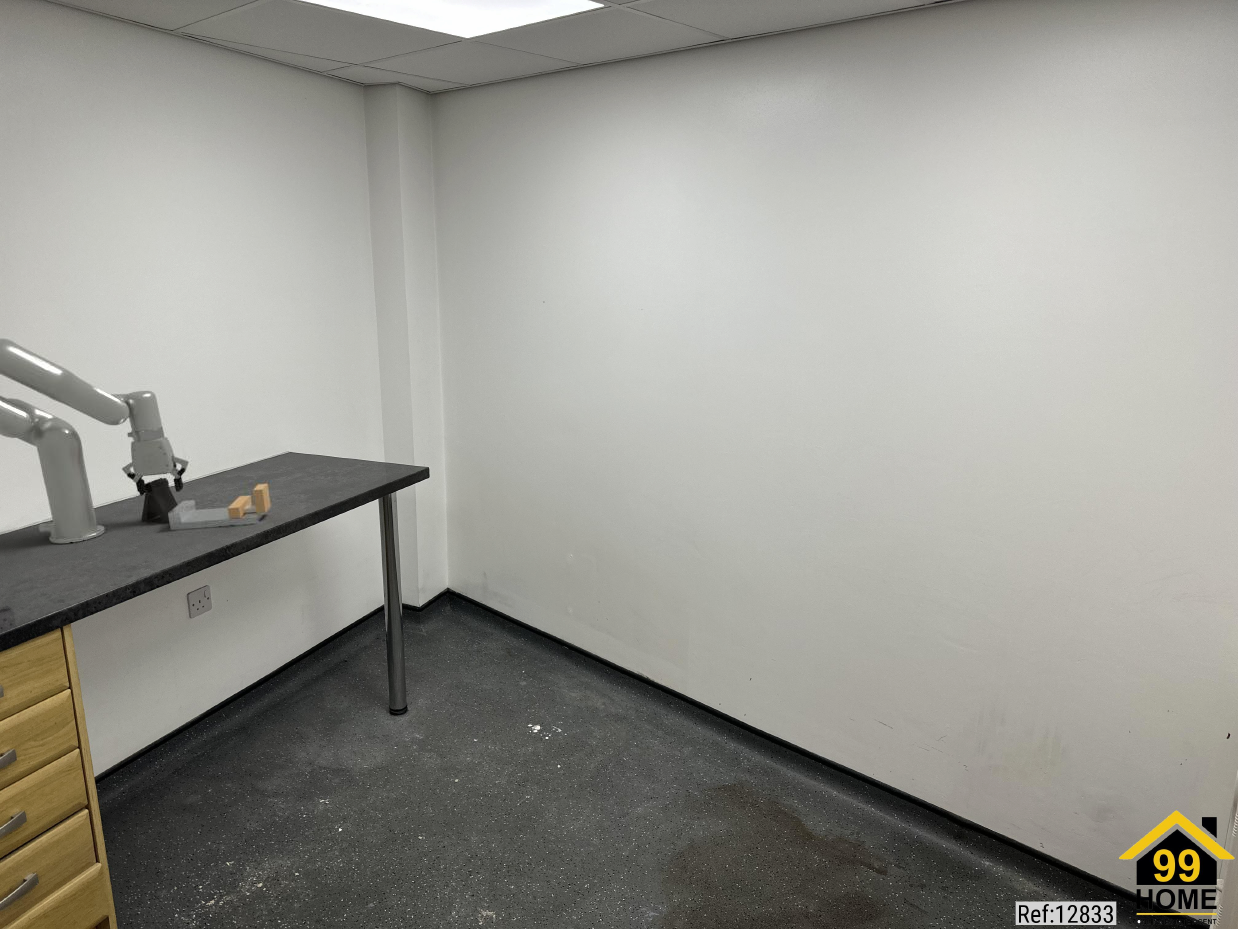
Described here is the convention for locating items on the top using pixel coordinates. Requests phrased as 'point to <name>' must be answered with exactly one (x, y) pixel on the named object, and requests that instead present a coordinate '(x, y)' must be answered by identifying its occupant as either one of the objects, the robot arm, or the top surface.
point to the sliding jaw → (245, 504)
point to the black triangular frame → (158, 502)
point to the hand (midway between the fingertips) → (161, 492)
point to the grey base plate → (215, 519)
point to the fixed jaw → (182, 511)
